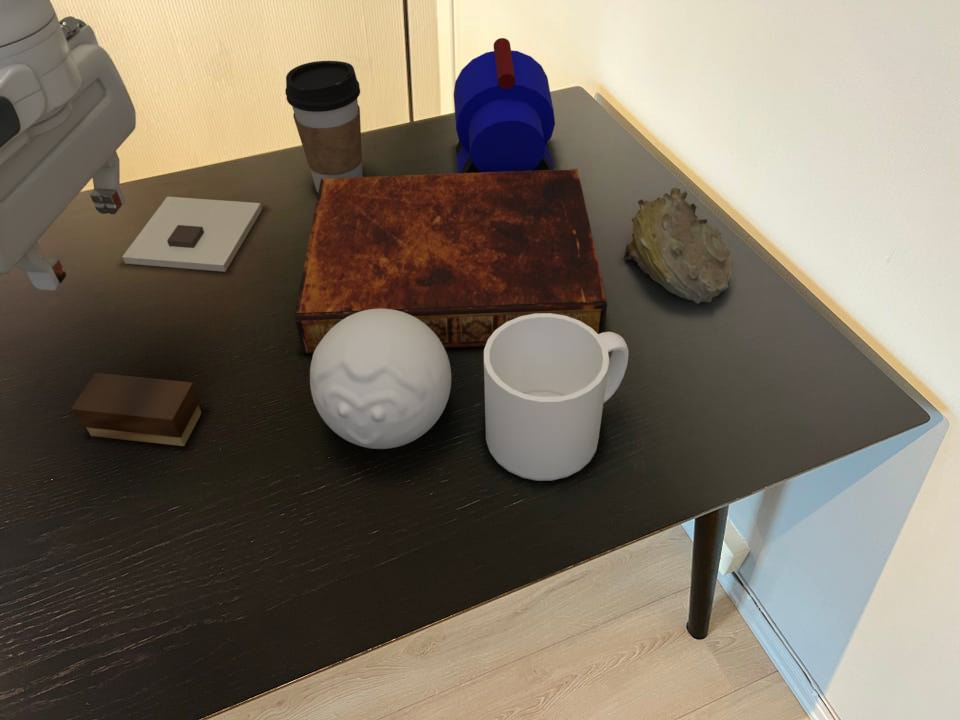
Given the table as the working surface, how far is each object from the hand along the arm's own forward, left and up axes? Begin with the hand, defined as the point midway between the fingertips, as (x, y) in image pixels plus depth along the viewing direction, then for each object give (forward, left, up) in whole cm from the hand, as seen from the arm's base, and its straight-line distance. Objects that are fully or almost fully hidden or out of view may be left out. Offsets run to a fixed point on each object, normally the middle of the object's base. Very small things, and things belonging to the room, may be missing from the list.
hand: (83, 244), depth 61 cm
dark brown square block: (-7, +24, -18) cm, 31 cm away
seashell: (+48, +26, -19) cm, 58 cm away
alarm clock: (+27, +45, -19) cm, 56 cm away
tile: (-7, +26, -19) cm, 33 cm away
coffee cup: (+7, +38, -19) cm, 43 cm away
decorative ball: (+22, +1, -19) cm, 29 cm away
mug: (+37, +2, -19) cm, 41 cm away
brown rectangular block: (0, -2, -19) cm, 19 cm away
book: (+24, +23, -19) cm, 38 cm away
